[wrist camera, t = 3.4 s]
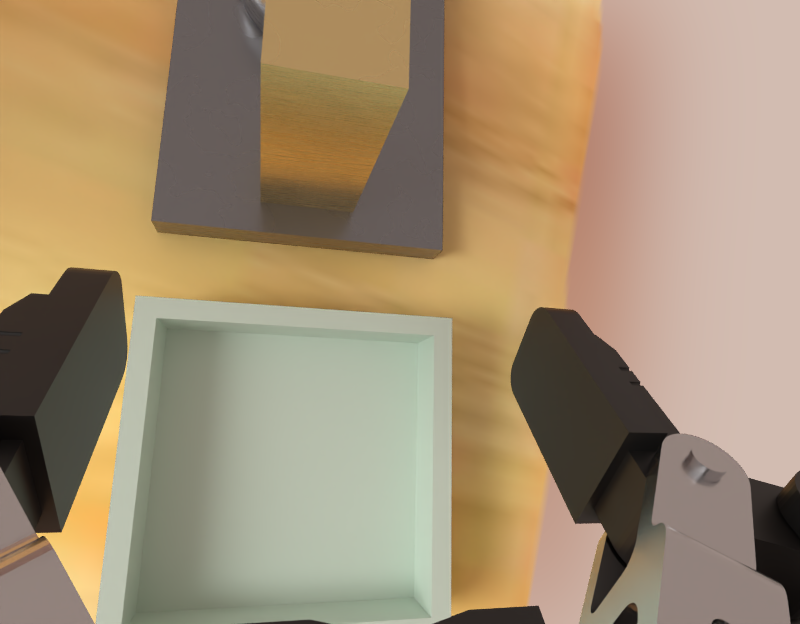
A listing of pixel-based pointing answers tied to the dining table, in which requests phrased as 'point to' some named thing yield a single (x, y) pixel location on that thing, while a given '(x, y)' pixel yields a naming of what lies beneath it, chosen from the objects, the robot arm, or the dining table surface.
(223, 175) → the crank base
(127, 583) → the tray
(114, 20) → the dining table surface
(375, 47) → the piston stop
